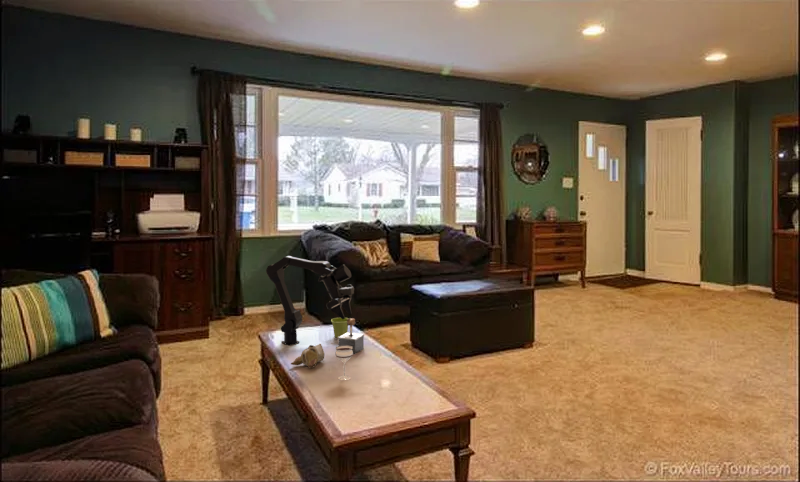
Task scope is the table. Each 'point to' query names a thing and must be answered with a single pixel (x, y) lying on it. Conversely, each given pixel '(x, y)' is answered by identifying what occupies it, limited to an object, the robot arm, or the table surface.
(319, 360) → the ceramic sculpture
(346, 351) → the wineglass
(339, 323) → the plant pot
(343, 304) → the robot arm
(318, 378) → the table surface
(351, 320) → the bronze domed cylinder
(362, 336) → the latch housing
